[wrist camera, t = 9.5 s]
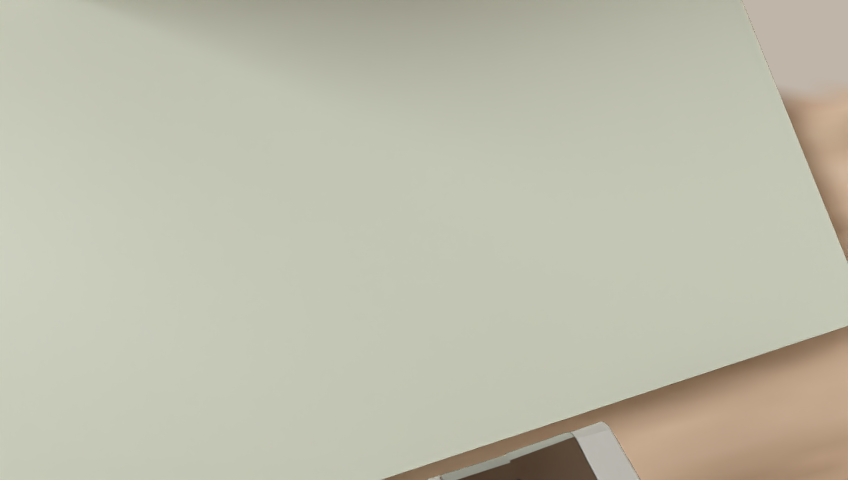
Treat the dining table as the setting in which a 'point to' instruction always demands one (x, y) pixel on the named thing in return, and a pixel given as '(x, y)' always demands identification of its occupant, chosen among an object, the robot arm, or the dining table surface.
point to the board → (381, 226)
